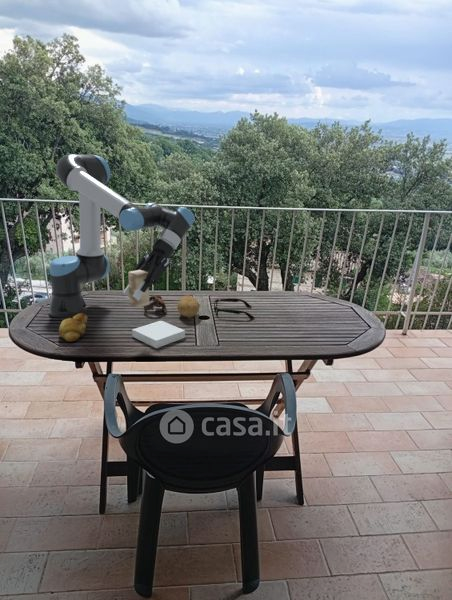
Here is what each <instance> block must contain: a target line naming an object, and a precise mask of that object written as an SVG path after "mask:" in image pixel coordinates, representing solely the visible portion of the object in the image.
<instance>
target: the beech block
mask: <svg viewBox="0 0 452 600" xmlns="http://www.w3.org/2000/svg"><path fill="white" fill-rule="evenodd" d="M148 273H149V271H147V272H146V271H142V270H136V271H133V270H131V271H128V272H127V274H128V277H127V278H128V284H129V297H128V298H129V305H132V306H134V307H136V308H141V307H144V306H146V305H149V304H150V302H149V297H150V286H149V287H148V288H147V290H146V291H145V292H144V293H143V295H142V296H141V298H140V299H139V301H138V300H136V299H135V298H134V297H133V295H134V293H135V292H136V290H137V289H138V287H139V286H140V284H141V283H142V281H144V279H146V277H147V275H148ZM144 282H145V281H144Z"/></svg>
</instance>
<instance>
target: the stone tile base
mask: <svg viewBox="0 0 452 600" xmlns="http://www.w3.org/2000/svg"><path fill="white" fill-rule="evenodd" d="M131 330H132V332H131V334H132V338H135V339H136V340H138V341H141V342H143V343H144V344H146V345H148V346H151V347H153V348H154V349H159V348H161V347H163V346H166V345H169V344H171V343H174V342H177V341H179V340H182V339H185V338H186V330H185V329H183V328H180V327H177V326H175V325H173V324H171V323H168V322H166V321H163V320H158V321H154V322H153V323H152V322H151V323H149V324H146V325H143V326H139V327H135V328H133V329H131Z"/></svg>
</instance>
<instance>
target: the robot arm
mask: <svg viewBox="0 0 452 600" xmlns="http://www.w3.org/2000/svg"><path fill="white" fill-rule="evenodd" d="M55 174H56V176H57V178H58V180H59V181H60V183H62V185H63V186H65V187H66V188H68V189H69V190H70V191H74V192H75V191H76V192H78V198H79V199H78V205H79V206H78V209H79V210H78V211H79V213H78V215H79V248H78V249H77V250H76V256H75V255H66V256H60V257H56V258H55V259H52V260H51V261H50V264H49V274H50V281H51V293H52V296H51V301H50V304H49V307H48V308H49V315H50V316H52V317H55V318H61V319H62V318H64V319H68V318H73V317H74V316H75V315H77V314H79V313H84V314H86V313H87V312H88V307H87V304H86V301H85V298H84V296H83V295H82V286H83V285H86V284H89V283H94V282H98V281H100V280H102V279H104V278H106V277H107V276H108V274H109V272H110V269H111V266H110V260H108V257H107V255H105V252H104V251H103V249H101V243H102V242H101V240H102V239H101V232H102V231H101V208H102V209H104V210H105V211H107V212H108V213H109V214H111V215H112V216H114V217H115V218H117V219H118V220H119V224H120V225H121V227H122V228H123V229H124V230H125V231H128V232H129V231H130V232H131V231H134V232H135V231H139V230H144V229H148V228H154V227H159V228H162V229H163V230H162V231H161V233H160V234H159V236H158V238H157V239H156V240H155V242H154V243H153V245H152V247H151V248H152V251H151V252H149V253H148V254H146V253H143V254H142V256H141V258H140V259H139V261H138V262H137V263H136V265H135V266H134V268H133V269H132V271H136V270H142V271H146V272H148V275H147V277H146V279H144V281H145V282H144V281H142V283H141V284H140V286H139V287H138V289H137V290H136V292H135V293H134V295H133V297H134V298H135V299H136V300H138V301H139V299H140V298H141V296H142V295H143V293H144V292H145V291H146V290H147V288H148V287H149V288H150V286H152V285H153V286H155V285H156V284H157V283H158V282H159V280H160V278H161V277H162V275H163V273H164V272H165V271H166V269H167V268H168V267H169V266H170V265H171V263H170V261H168V259H170V258H171V257H172V255H173V254H174V252H175V250H176V249H177V247H178V246H179V244H180V243H181V241H182V240H183V238H184V236H185V235H186V234H187V233H188V232H189V230H190V229H191V227H192V225H193V223H195V220H196V219H195V214H194V213H193V212H192V211H191V210H190V209H189V208H186V207H185V206H184V207H183V206H179V208H177V209H176V211H175V210H172V209H170V208H168V207H165V206H162V205H160V204H159V203H153V202H148V203H147V204H146V205H144V207H143V206H142V207H139V206H137V205H135V204H134V203H132V202H131V201H129V200H128V199H126V198H125V197H124V196H122V195H120V194H119V193H117V192H116V191H114V189H113V190H112V189H111V188H109V187H108V186H107V185H106V184H107V183H108V181H109V180H110V178H111V170H110V167H109V164H108V162H106V160H105V158H103V157H102V156H99V155H95V154H75V153H69V154H65V155H63V156H61V157H60V158H59V159H58V160H57V163H56V165H55ZM122 293H123V294H124V295H126V296H127V297H128V298H129V283H127V286H126V287H125V289H124V290H123V291H122Z"/></svg>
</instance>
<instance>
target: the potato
mask: <svg viewBox="0 0 452 600" xmlns="http://www.w3.org/2000/svg"><path fill="white" fill-rule="evenodd" d="M176 307H177V311H178V313H179V314H180V315H182V316H183V317H185V318H189V319H190V318H192V317H196V315H197V314H198V312H200V311H199V310H200V307H201V306H200V302H199V301H198V300H197V299H196V298H195V297H194V296H192V295H184V296H183V297H181V298H180V299H179V301H178V303H177V306H176Z"/></svg>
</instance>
